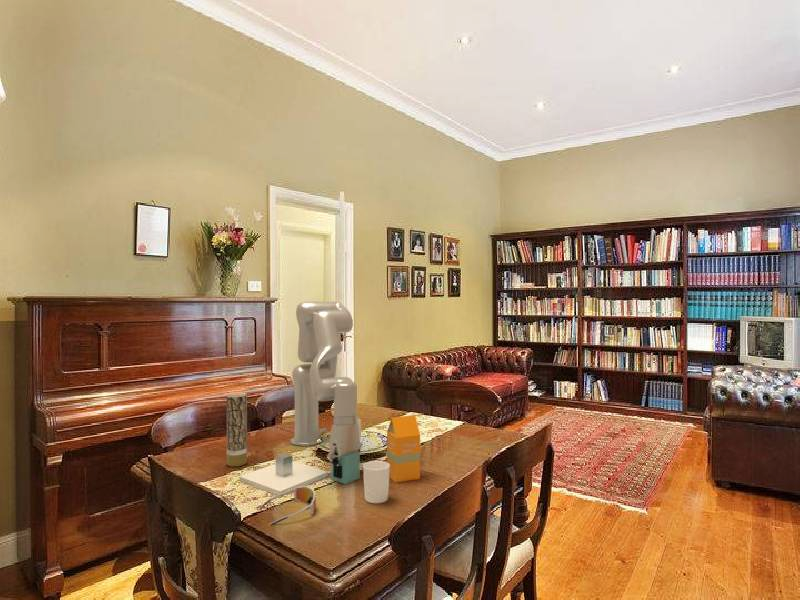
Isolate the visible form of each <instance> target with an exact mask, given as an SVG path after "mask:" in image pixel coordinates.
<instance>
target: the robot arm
mask: <svg viewBox="0 0 800 600" xmlns="http://www.w3.org/2000/svg"><path fill="white" fill-rule="evenodd" d="M295 317H296V321H297V324H298V330H299V331H298V345H297V346H298V347H297V356H298V357H297V358H298V360H299V361H300V362H302V364H299V365H296V366H295V367H294V368H293V370H292V375H291V376H292V377H291V378H292V382H293V384H292V385H293V391H294V392H293V393H294V436H293V437H292V438H291V439H290V444H291V445H295V446H298V447H299V446H300V447H303V446H304V447H308V446H309V447H310V446H315V445H318V444H317V440H318V439H320V438H321V437H322V434H324V433H327V428H326V427H322V428H319V402H330V401H333V424H331V429H330V430H331V431H330V435H329V450H328V454H327V455H326V459H328V461H329V462H330V464H331V463H332V465H333V476H334V477H336V478H342V466H340V465H341V457H343V456H346V455H348V454H351V453H353V452H356V451H358V452H360V453H361V450H362V447H363V443H362V442H361V440H360V441H359V428H358V422H357V418H358V384H357V383H356V382H355V381H353V380H352V379H351V378H350V377H348V376H339V377H337V376H336V375H337V374H336V373H337V364H338V355H340V353H341V352H342V351H343V345H342V341H341V336H340V334H342V333H344V334H345V333H350V332H351V331H352V330H353V328H354V327H353V325H354V321H353V317H352V314H351V312H350V311H349V309H348V308H346V307H345V306H344V305H343V304H342V303H341V302H339V301H305V302H304V301H303V302H300V303H299V304H298V305H297V307H296V310H295ZM303 363H304V364H303ZM337 454H338V455H337ZM333 456H334V457H333ZM336 457H338V458H339V459H338V461H337V460H336Z"/></svg>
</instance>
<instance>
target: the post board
mask: <svg viewBox="0 0 800 600" xmlns="http://www.w3.org/2000/svg"><path fill="white" fill-rule="evenodd" d="M328 476H329V471H326V470H322V469H319V468H316V467H314V466H310V465H306V464H303V463H299V462H297V461H294V460H292V474H290V475H288V476H285V477H281V476H278V475H276V463H274V464H271V465H268V466H265V467H263V468H262V467H261V468H259V469H256V470H253V471H250V472H248V473H244V474H243V475H242V474H241V475H240V476H239V477H238V481H239V482H241V483H244V484H247V485H248V486H251V487H255V488H257V489H259V490H261V491H265V492H267V493H270V494H273V495H275V496H277V495H279V494H281V493H284V492H286V491H289V490H292V489H295V488H296V487H301V486H309V485H312V483H315V482H317V481H320V480H323V479H325V478H328Z"/></svg>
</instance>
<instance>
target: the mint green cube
mask: <svg viewBox="0 0 800 600" xmlns="http://www.w3.org/2000/svg"><path fill="white" fill-rule="evenodd" d="M360 454H361V451H360V452H358V451H356V452H353V453H351V454H348V455H346V456H343V457H341V465H340V466H342V478H336V477H334V476H333V465H332V463H331V462H330V480H331V481H333V482H334V481H335V482H337V483H341V484H343V485H348V484H350V483H352V482H355V481H356V480H359V479H360V477H361V475H360V473H361V471H360V470H361V469H360V464H361V463H360V462H361V461H360V460H361V459H360V456H361V455H360ZM337 455H338V454H337ZM333 457H334V456H333ZM338 459H339V458H338V457H336V460H337V461H338Z"/></svg>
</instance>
